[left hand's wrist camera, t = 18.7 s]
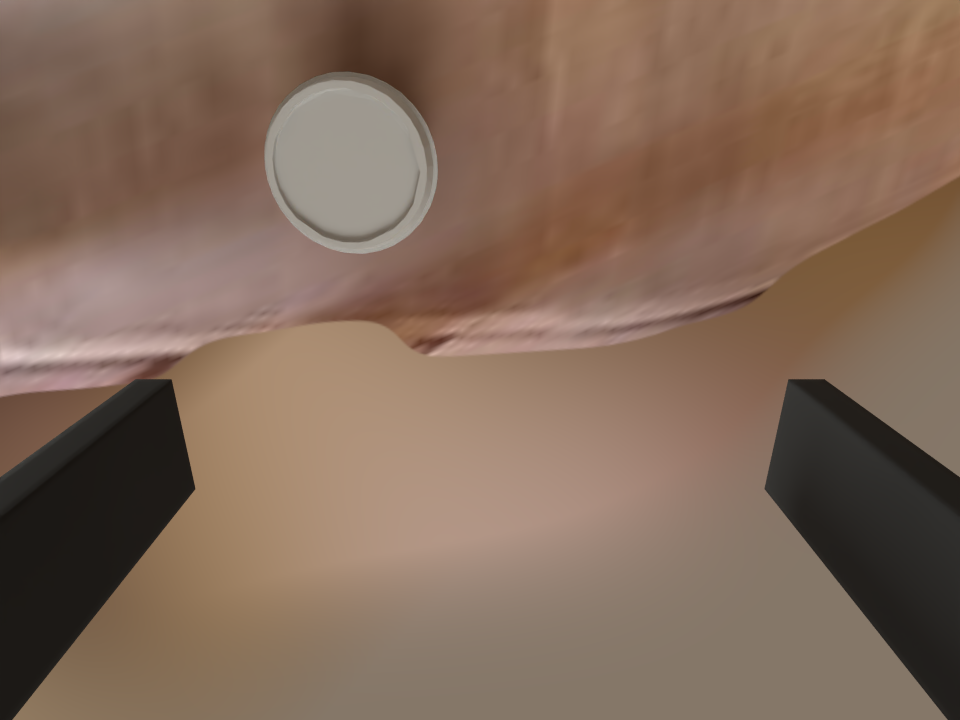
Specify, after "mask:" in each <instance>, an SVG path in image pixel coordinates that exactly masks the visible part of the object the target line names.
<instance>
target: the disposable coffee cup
mask: <svg viewBox="0 0 960 720" xmlns="http://www.w3.org/2000/svg"><path fill="white" fill-rule="evenodd" d="M264 159H265V169H266V174H267V179H268V183H269V186H270V188H271V191H272V194H273V196H274V198H275V200H276V202H277V204H278V206H279V207H280V209H281V211H282V212H283V213H284V214H285V216H286V217H287V218H288V220H289V221H290V222H291V223H292V224H293V225H294V226H295V227H296V228H297V229H298V230H299V231H300V232H301V233H302V234H304V235H305V236H307V237H308V238H310V239H311V240H313V241H314V242H316V243H318V244H320V245H322V246H325V247H327V248H329V249H333V250H337V251H340V252H344V253H361V254H365V253H370V252H376V251H380V250H383V249H386V248H388V247H391V246H393V245H395V244H397V243H398V242H400V241H401V240H403V239H404V238H406V237H407V236H409V235H410V234H411V233H412V232H413V231H414V229H415V228H416V227H417V226H418V225H419V224H420V223H421V222H422V220H423V218H424V217H425V215H426V213H427V211H428V210H429V208H430V206H431V203H432V200H433V197H434V194H435V191H436V185H437V178H438V167H437V155H436V150H435V146H434V142H433V139H432V136H431V134H430V131H429V128H428V126H427V124H426V123H425V121H424V119H423V117H422V116H421V114H420V113H419V112H418V110H417V109H416V107H415V106H414V105H413V104H412V103H411V102H410V101H409V100H408V99H407V98H406V97H405V96H404V95H403V94H402V93H401V92H400V91H398V90H397V89H395V88H394V87H392V86H391V85H389V84H388V83H386V82H384V81H381V80H379V79H377V78H375V77H372V76H370V75H366V74H360V73H354V72H349V71H348V72H331V73H327V74H323V75H320V76H316V77H314V78H312V79H310V80H308V81H306V82H304V83H302V84H300V85H299V86H298V87H297V88H295V89H294V90H293V91H292V92H291V93H290V94H288V95H287V96H286V98H285V99H284V100H283V101H282V103H281V104H280V105H279V107H278V108H277V110H276V112H275V114H274V116H273V118H272V119H271V122H270V125H269V128H268V131H267V136H266V141H265V158H264Z"/></svg>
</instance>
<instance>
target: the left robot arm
mask: <svg viewBox="0 0 960 720" xmlns="http://www.w3.org/2000/svg"><path fill="white" fill-rule="evenodd" d="M194 490H195V485H194V480H193V476H192V471H191V466H190V462H189V457H188V453H187V448H186V444H185V439H184V435H183V430H182V425H181V421H180V416H179V411H178V407H177V402H176V398H175V393H174V389H173V384H172V380H171V379H135V380H134V381H133V382H131V383H130V384H129V385H127V386H126V387H124V388H123V389H122V390H120V391H119V392H118V393H116V394H115V395H113V396H112V397H111V398H109V399H108V400H107V401H105V402H104V403H102V404H101V405H100V406H98V407H97V408H95V409H94V410H93V411H91V412H90V413H89V414H87V415H86V416H84V417H83V418H82V419H80V420H79V421H77V422H76V423H75V424H73V425H72V426H70V427H69V428H68V429H66V430H65V431H64V432H62V433H61V434H59V435H58V436H57V437H55V438H54V439H53V440H51V441H50V442H48V443H47V444H46V445H44V446H43V447H41V448H40V449H39V450H37V451H36V452H35V453H33V454H32V455H30V456H29V457H28V458H26V459H25V460H23V461H22V462H21V463H19V464H18V465H17V466H15V467H14V468H12V469H11V470H10V471H8V472H7V473H6V474H4V475H3V476H1V477H0V720H12V719H13V718H14V717H15V716H16V714H17V713H18V712H19V711H20V709H21V708H22V707H23V706H24V704H25V703H26V702H27V701H28V699H29V698H30V697H31V696H32V694H33V693H34V692H35V690H36V689H37V688H38V687H39V685H40V684H41V683H42V682H43V680H44V679H45V678H46V677H47V675H48V674H49V673H50V672H51V670H52V669H53V668H54V666H55V665H56V664H57V663H58V661H59V660H60V659H61V658H62V656H63V655H64V654H65V653H66V651H67V650H68V649H69V648H70V646H71V645H72V644H73V643H74V641H75V640H76V639H77V637H78V636H79V635H80V634H81V632H82V631H83V630H84V629H85V627H86V626H87V625H88V624H89V622H90V621H91V620H92V619H93V617H94V616H95V615H96V614H97V612H98V611H99V610H100V609H101V607H102V606H103V605H104V603H105V602H106V601H107V600H108V598H109V597H110V596H111V595H112V593H113V592H114V591H115V590H116V588H117V587H118V586H119V585H120V583H121V582H122V581H123V580H124V578H125V577H126V576H127V575H128V573H129V572H130V571H131V569H132V568H133V567H134V566H135V564H136V563H137V562H138V561H139V559H140V558H141V557H142V556H143V554H144V553H145V552H146V551H147V549H148V548H149V547H150V546H151V544H152V543H153V542H154V540H155V539H156V538H157V537H158V535H159V534H160V533H161V532H162V530H163V529H164V528H165V527H166V525H167V524H168V523H169V522H170V520H171V519H172V518H173V517H174V515H175V514H176V513H177V511H178V510H179V509H180V508H181V506H182V505H183V504H184V503H185V501H186V500H187V499H188V498H189V496H190V495H191V494H192V493H193V491H194ZM765 490H766V491H767V493H768V494H769V495H770V496H771V498H772V499H773V500H774V501H775V503H776V504H777V505H778V506H779V508H780V509H781V510H782V511H783V513H784V514H785V515H786V517H787V518H788V519H789V520H790V522H791V523H792V524H793V525H794V527H795V528H796V529H797V530H798V532H799V533H800V534H801V535H802V537H803V538H804V539H805V540H806V542H807V543H808V544H809V546H810V547H811V548H812V549H813V551H814V552H815V553H816V554H817V556H818V557H819V558H820V559H821V561H822V562H823V563H824V564H825V566H826V567H827V568H828V569H829V571H830V572H831V573H832V574H833V576H834V577H835V578H836V580H837V581H838V582H839V583H840V585H841V586H842V587H843V588H844V590H845V591H846V592H847V593H848V595H849V596H850V597H851V598H852V600H853V601H854V602H855V603H856V605H857V606H858V607H859V608H860V610H861V611H862V612H863V614H864V615H865V616H866V617H867V619H868V620H869V621H870V622H871V624H872V625H873V626H874V627H875V629H876V630H877V631H878V632H879V634H880V635H881V636H882V638H883V639H884V640H885V641H886V643H887V644H888V645H889V646H890V648H891V649H892V650H893V651H894V653H895V654H896V655H897V656H898V658H899V659H900V660H901V661H902V663H903V664H904V665H905V667H906V668H907V669H908V670H909V672H910V673H911V674H912V675H913V677H914V678H915V679H916V680H917V682H918V683H919V684H920V685H921V687H922V688H923V689H924V690H925V692H926V693H927V694H928V695H929V697H930V698H931V699H932V701H933V702H934V703H935V704H936V706H937V707H938V708H939V709H940V711H941V712H942V713H943V714H944V716H945V717H946V718H947V719H948V720H960V477H959V476H957V475H956V474H954V473H953V472H952V471H950V470H949V469H948V468H946V467H945V466H943V465H942V464H941V463H939V462H938V461H937V460H935V459H934V458H932V457H931V456H930V455H928V454H927V453H925V452H924V451H923V450H921V449H920V448H919V447H917V446H916V445H914V444H913V443H912V442H910V441H909V440H907V439H906V438H905V437H903V436H902V435H901V434H899V433H898V432H896V431H895V430H894V429H892V428H891V427H890V426H888V425H887V424H885V423H884V422H883V421H881V420H880V419H878V418H877V417H876V416H874V415H873V414H872V413H870V412H869V411H867V410H866V409H865V408H863V407H862V406H860V405H859V404H858V403H856V402H855V401H854V400H852V399H851V398H849V397H848V396H847V395H845V394H844V393H843V392H841V391H840V390H838V389H837V388H836V387H834V386H833V385H831V384H830V383H829V382H827V381H826V380H825V379H789V380H788V384H787V388H786V393H785V398H784V402H783V407H782V412H781V416H780V421H779V425H778V430H777V434H776V439H775V443H774V448H773V453H772V457H771V462H770V466H769V471H768V476H767V480H766V485H765Z"/></svg>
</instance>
